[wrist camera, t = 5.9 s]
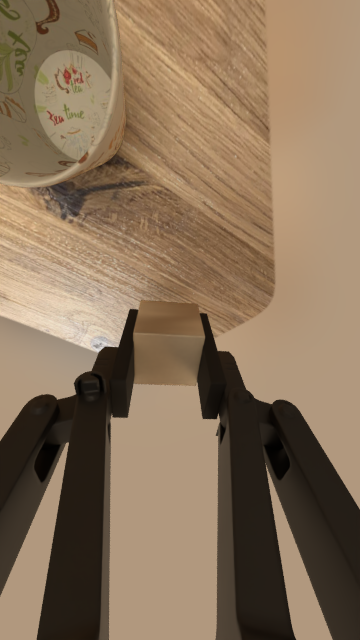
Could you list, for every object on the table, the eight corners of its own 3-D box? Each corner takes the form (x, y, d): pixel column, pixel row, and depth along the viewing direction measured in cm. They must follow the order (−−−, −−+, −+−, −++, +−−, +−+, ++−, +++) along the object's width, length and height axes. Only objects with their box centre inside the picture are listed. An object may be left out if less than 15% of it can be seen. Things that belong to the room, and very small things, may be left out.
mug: (52, 195, 18) (-52, 209, 9) (-75, -92, 11) (-893, -1031, 2) (156, 170, 17) (148, 160, 9) (89, -145, 11) (-225, -1508, 2)
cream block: (197, 303, 16) (205, 336, 12) (190, 347, 18) (196, 386, 15) (140, 299, 16) (132, 332, 12) (140, 345, 18) (133, 384, 14)
